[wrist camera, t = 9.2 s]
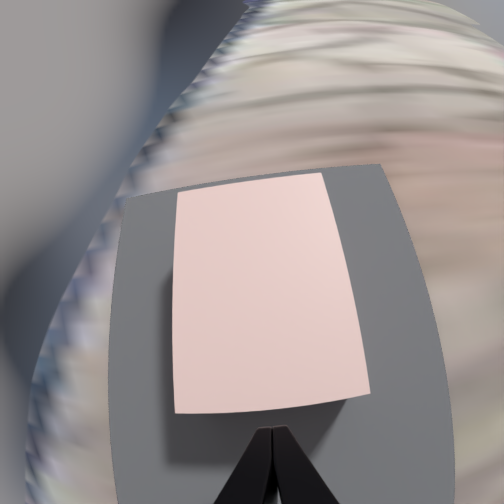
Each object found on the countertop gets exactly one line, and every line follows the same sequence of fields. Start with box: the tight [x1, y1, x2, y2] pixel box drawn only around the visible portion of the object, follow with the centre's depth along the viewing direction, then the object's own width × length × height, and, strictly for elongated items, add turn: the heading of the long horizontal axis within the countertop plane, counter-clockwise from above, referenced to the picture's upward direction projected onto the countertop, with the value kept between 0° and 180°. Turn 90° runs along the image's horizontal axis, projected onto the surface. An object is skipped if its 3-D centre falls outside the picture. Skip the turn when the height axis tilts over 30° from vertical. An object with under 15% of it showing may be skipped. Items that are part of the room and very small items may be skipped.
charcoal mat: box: [108, 164, 455, 504], centre depth 13 cm, size 28×18×1 cm, turn 5°
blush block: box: [172, 173, 370, 414], centre depth 13 cm, size 4×7×10 cm
